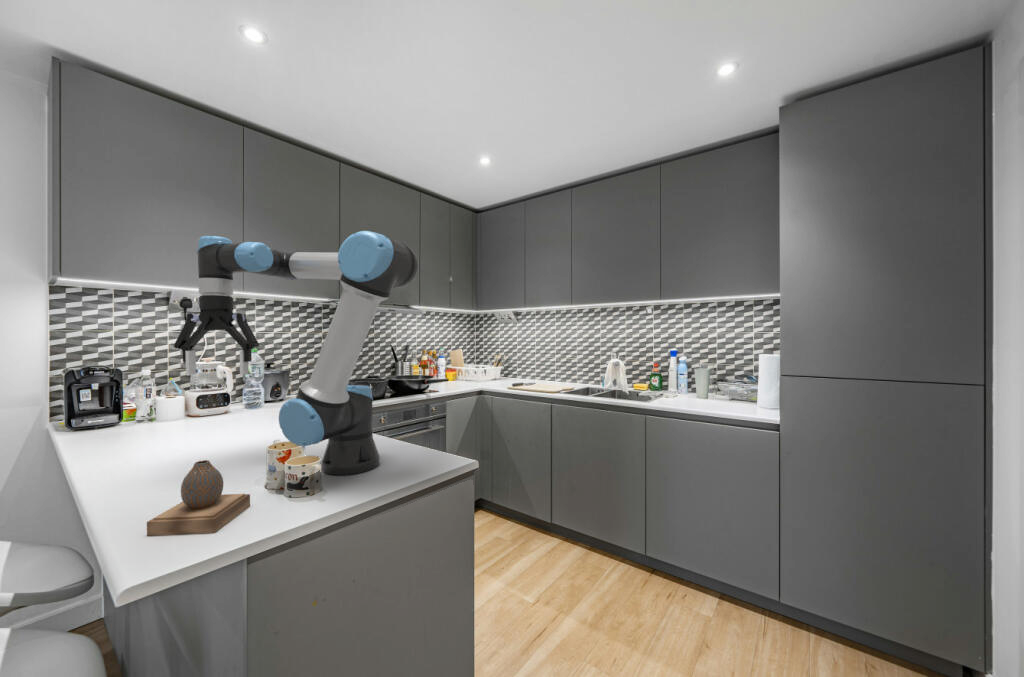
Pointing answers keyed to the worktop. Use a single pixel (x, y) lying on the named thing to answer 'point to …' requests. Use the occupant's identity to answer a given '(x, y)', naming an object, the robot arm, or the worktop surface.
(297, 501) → the worktop surface
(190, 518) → the tray
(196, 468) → the vase
